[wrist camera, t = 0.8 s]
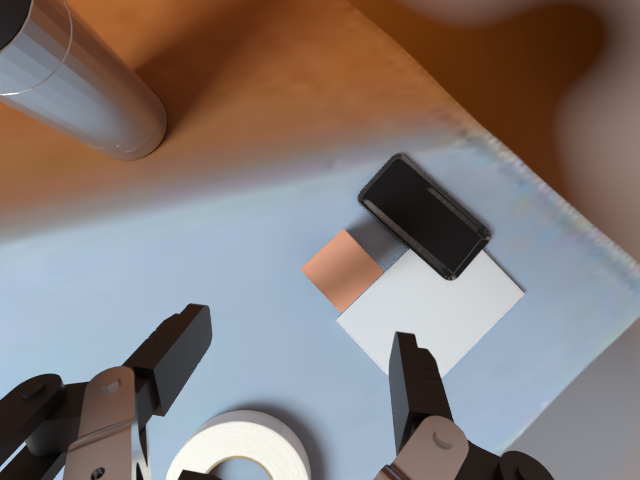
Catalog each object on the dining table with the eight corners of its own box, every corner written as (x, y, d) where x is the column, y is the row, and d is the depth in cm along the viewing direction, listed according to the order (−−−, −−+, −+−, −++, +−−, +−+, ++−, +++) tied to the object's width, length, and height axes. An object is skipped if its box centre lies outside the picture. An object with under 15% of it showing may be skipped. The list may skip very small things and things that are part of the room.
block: (303, 266, 35) (299, 269, 25) (334, 236, 35) (343, 228, 25) (333, 297, 35) (341, 313, 25) (363, 267, 35) (384, 271, 25)
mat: (335, 319, 35) (335, 320, 34) (444, 213, 36) (446, 213, 35) (413, 402, 34) (415, 405, 34) (521, 293, 35) (524, 294, 35)
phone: (451, 285, 35) (354, 197, 35) (447, 284, 36) (353, 199, 36) (495, 234, 35) (398, 149, 35) (489, 235, 36) (396, 152, 37)
